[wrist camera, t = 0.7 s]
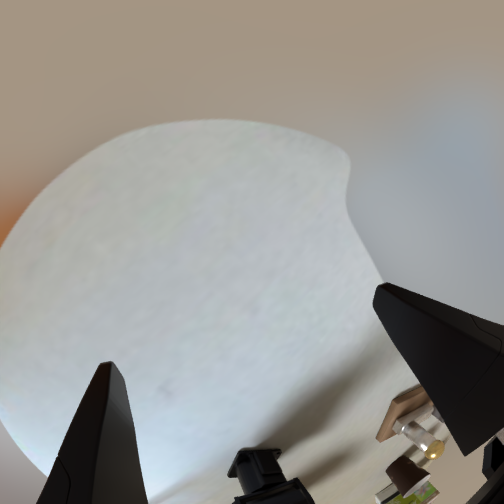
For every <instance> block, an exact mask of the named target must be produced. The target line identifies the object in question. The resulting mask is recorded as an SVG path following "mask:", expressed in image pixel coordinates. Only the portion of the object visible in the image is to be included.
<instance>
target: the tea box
mask: <svg viewBox="0 0 504 504" xmlns="http://www.w3.org/2000/svg"><path fill="white" fill-rule="evenodd" d="M438 494H439V492H438V490H437V489H436V488H435V487H433V486H432V484H430V482H429V481H426V482H425V483H424V484H423V485H422V486H421V487H420V488H419V489H417V490H416V491H415V492H414V493H412V494H411V495H409V496H408V497H406V498H403V497H402V495H401V494H400V492H399V491H398V489H397V488H396V486H395V485H394V483H393V484H391V485H390V486H388V487H387V488H385V489H384V490H382V491H381V492H379V493H378V494H376V495H375V497H376V503H377V504H431V503H432V502H433V501H434V500H435V499H436V497H437V496H438Z"/></svg>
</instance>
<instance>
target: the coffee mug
mask: <svg viewBox="0 0 504 504" xmlns="http://www.w3.org/2000/svg"><path fill="white" fill-rule="evenodd" d="M386 473H387V475H388V476H389V478H390V479H391V480H392V482H393V483H394V485H395V486H396V488H397V489H398V491H399V492H400V494H401V495H402V497H403V498H406V497H408V496H409V495H411V494H412V493H414V492H415V491H416V490H417V489H419V488H420V487H421V486H422V485H423V484H424V483H425V482H426V481H427V480H428V479H429V477H430V476H431V474H430V473H428V472H427V471H425V470H424V469H423V468H421V467H420V466H418V465H417V464H416V463H414V462H413V461H412V460H410V459H409V458H407V457H406V456H401V457H400V458H398V459H397V460H395V461H394V462H393V463H392V464H391V465H390V466H389V467H388V468H387V470H386Z"/></svg>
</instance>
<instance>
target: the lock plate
mask: <svg viewBox="0 0 504 504" xmlns="http://www.w3.org/2000/svg"><path fill="white" fill-rule="evenodd" d="M427 403H428V404H430V405H431V406H432V407H433V408H434V410H433V412H432V415H434V416H435V417H436V418H437V419H439V420H440V421H441V422H442V423H444V421H443V419H442V417H441V416H440V414H439V412H438V411H437V409H436V407H435V406H434V404H433V403H432V401H431V399H430V398H429V396H428V395H427V393H426V391H425V390H424V388H423V387H422V386H421V387H419V388H417V389H415V390H413V391H411V392H409V393H407V394H404V395H402V396H400V397H398V398H396V399H394V400H392V402H391V405H390V407H389V409H388V412H387V414H386V416H385V419H384V421H383V423H382V425H381V428H380V430H379V432H378V434H377V436H376V439H377V440H378V441H379V442H382V441H385V440H387V439H388V438H390V437H392V436H394V435H396V434H397V433H396V432H395V431H394V430H392V428H393V426H394V424H395V422H396V420H397V419H399V418H401V417H403V416H405V415H407V414H409V413H411V412H413V411H415V410H416V409H418V408H420V407H422V406H424V405H425V404H427Z"/></svg>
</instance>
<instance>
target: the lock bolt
mask: <svg viewBox="0 0 504 504" xmlns="http://www.w3.org/2000/svg"><path fill="white" fill-rule="evenodd" d="M433 410H434V408H433V407H432V406H431V405H430V404H428V403H427V404H425V405H424V406H422V407H420V408H418V409H416V410H415V411H413V412H411V413H409V414H407V415H405V416H403V417H401V418H399V419H397V420H396V422H395V424H394V426H393V428H392V430H394V431H395V432H396V433H397V434H398V435H400V434H402V433H403V434H404V435H405V436H406V437H407V438H409V439H410V440H411V441H412V442H413V443H414V444H415V445H416V446H417V447H418V448H419V449H420V450H421V451H423V452H424V454H425V456H426V458H428V459H430V460H434V459H437V458H439V457H440V456H441V455H442V454H443V452H444V449H445V446H444V443H443V442H442V441H440V440H437V439H436V438H434V437H433V436H432V435H431V434H430V433H429V432H427V431H426V430H425V429H424V428H423V427H422V426H420V425H419V423H421V422H423V421H424V420H426V419H428V418H429V417H430V416H431V414H432V412H433Z"/></svg>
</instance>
